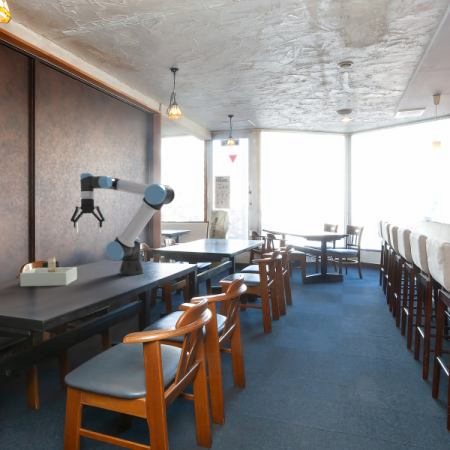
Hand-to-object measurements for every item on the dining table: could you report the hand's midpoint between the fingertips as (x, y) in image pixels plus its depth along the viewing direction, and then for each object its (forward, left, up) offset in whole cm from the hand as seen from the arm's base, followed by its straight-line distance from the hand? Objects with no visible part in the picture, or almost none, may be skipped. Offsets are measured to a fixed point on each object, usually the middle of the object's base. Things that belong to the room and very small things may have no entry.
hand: (88, 232), depth 229 cm
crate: (+16, +20, -27) cm, 37 cm away
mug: (+21, +3, -27) cm, 34 cm away
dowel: (+16, +17, -27) cm, 35 cm away
